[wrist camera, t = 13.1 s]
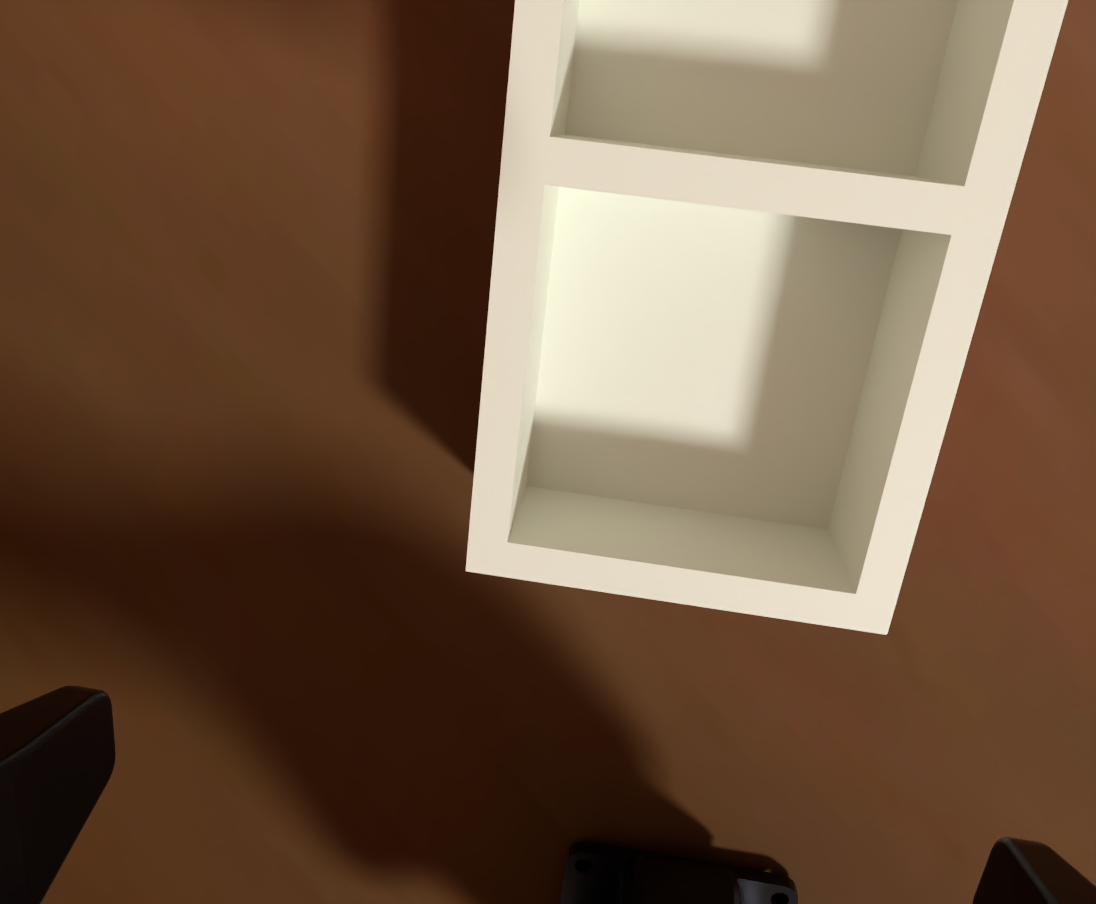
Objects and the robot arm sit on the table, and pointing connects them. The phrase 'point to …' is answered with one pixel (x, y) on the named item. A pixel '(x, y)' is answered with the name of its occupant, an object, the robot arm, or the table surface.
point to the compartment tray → (741, 289)
